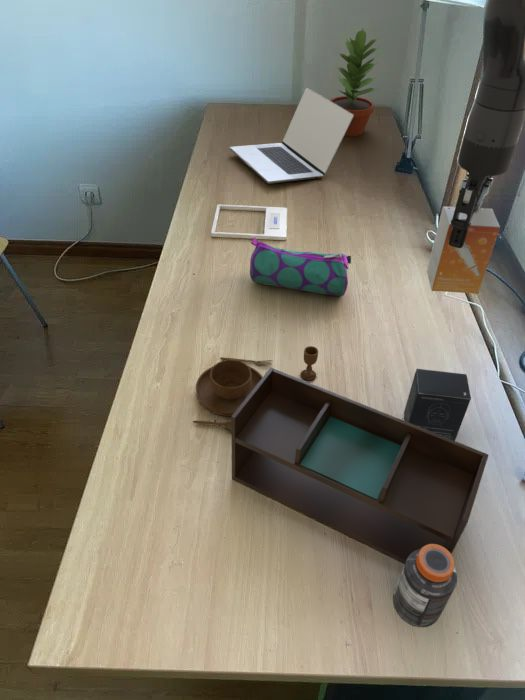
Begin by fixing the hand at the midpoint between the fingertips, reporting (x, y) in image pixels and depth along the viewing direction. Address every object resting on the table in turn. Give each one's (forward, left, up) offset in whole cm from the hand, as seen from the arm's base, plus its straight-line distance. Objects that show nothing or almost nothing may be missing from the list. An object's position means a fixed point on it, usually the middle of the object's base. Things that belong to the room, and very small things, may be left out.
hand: (462, 234), depth 92 cm
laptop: (+61, -58, -23) cm, 87 cm away
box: (-6, +21, -24) cm, 32 cm away
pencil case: (+30, -4, -24) cm, 39 cm away
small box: (-1, 0, -10) cm, 10 cm away
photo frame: (+52, -22, -24) cm, 61 cm away
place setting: (+22, +29, -24) cm, 44 cm away
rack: (+1, +40, -24) cm, 47 cm away
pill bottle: (-13, +50, -24) cm, 57 cm away
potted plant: (+55, -94, -24) cm, 111 cm away
